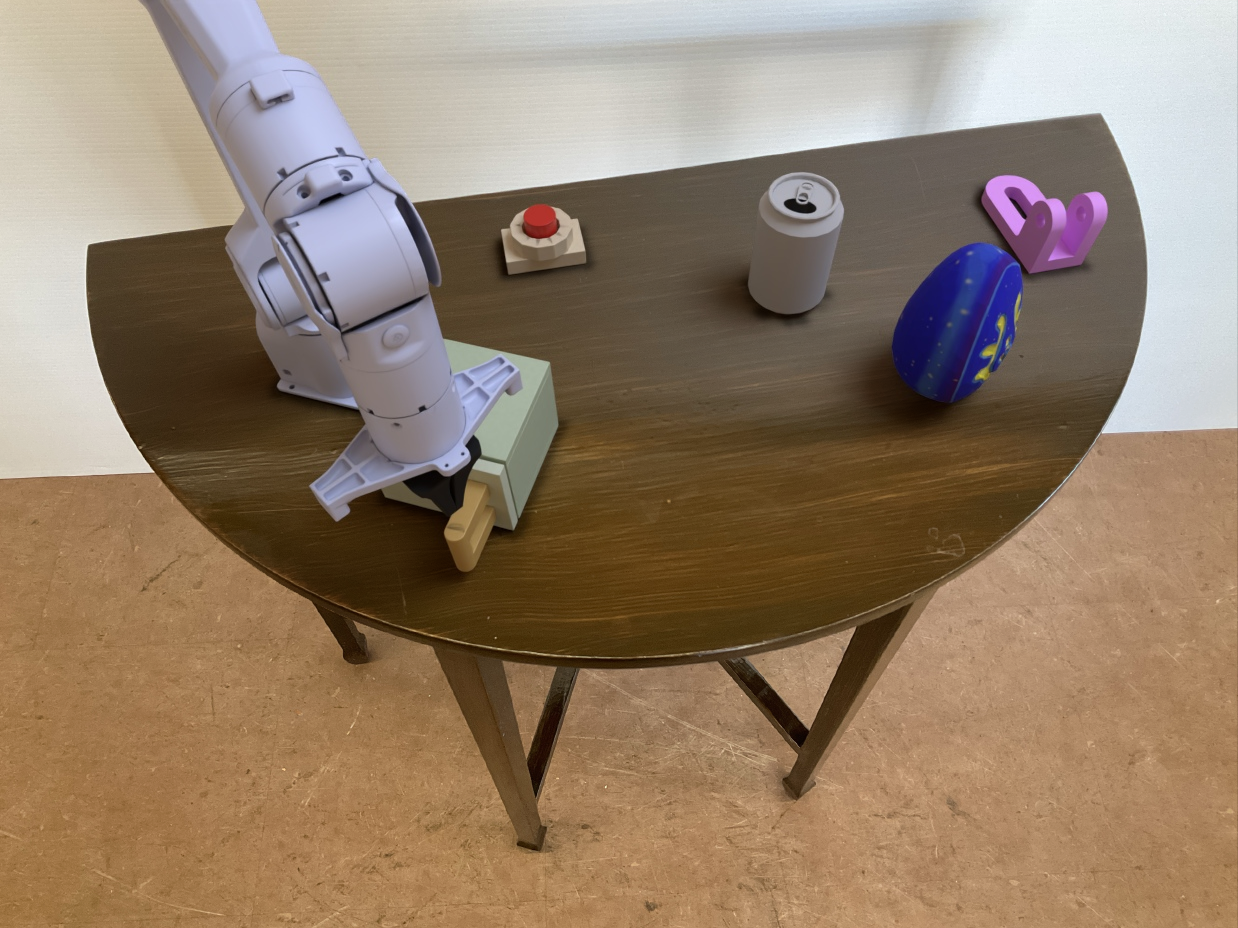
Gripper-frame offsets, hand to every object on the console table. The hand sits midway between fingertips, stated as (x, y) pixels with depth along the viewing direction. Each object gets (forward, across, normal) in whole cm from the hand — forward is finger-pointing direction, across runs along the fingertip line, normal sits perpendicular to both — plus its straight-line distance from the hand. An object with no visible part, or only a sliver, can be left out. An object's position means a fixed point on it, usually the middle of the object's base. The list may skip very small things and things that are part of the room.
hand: (447, 503), depth 60 cm
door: (+10, 0, +4) cm, 11 cm away
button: (+7, +28, +23) cm, 37 cm away
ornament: (+10, +42, -14) cm, 46 cm away
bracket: (+10, +66, -9) cm, 67 cm away
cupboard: (+10, +7, +8) cm, 15 cm away
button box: (+10, +28, +23) cm, 38 cm away
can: (+10, +41, +2) cm, 42 cm away
